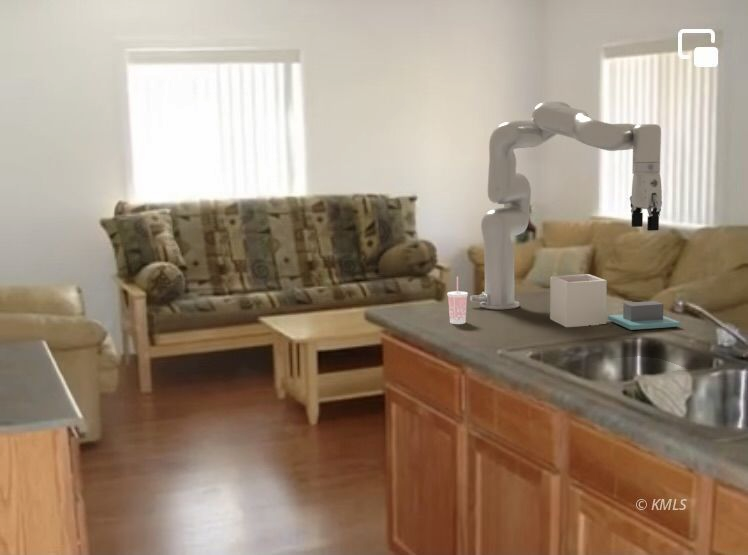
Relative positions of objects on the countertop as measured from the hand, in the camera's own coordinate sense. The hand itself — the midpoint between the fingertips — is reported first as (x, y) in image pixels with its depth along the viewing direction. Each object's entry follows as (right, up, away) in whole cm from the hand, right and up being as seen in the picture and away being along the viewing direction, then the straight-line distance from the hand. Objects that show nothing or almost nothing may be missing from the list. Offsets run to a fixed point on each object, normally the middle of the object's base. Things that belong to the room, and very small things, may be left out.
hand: (644, 228), depth 286 cm
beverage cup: (-52, -28, +14) cm, 61 cm away
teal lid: (+1, -28, +5) cm, 28 cm away
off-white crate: (-17, -27, +11) cm, 34 cm away
